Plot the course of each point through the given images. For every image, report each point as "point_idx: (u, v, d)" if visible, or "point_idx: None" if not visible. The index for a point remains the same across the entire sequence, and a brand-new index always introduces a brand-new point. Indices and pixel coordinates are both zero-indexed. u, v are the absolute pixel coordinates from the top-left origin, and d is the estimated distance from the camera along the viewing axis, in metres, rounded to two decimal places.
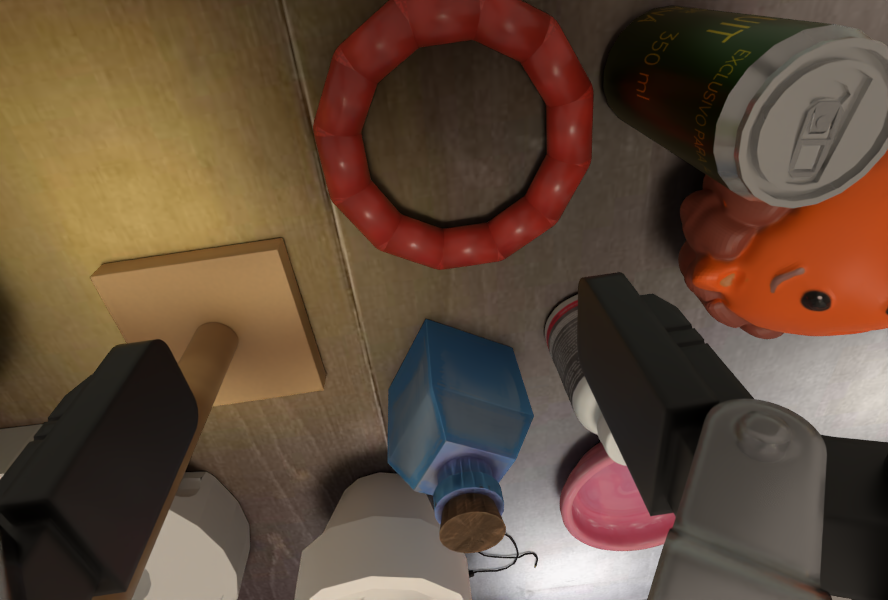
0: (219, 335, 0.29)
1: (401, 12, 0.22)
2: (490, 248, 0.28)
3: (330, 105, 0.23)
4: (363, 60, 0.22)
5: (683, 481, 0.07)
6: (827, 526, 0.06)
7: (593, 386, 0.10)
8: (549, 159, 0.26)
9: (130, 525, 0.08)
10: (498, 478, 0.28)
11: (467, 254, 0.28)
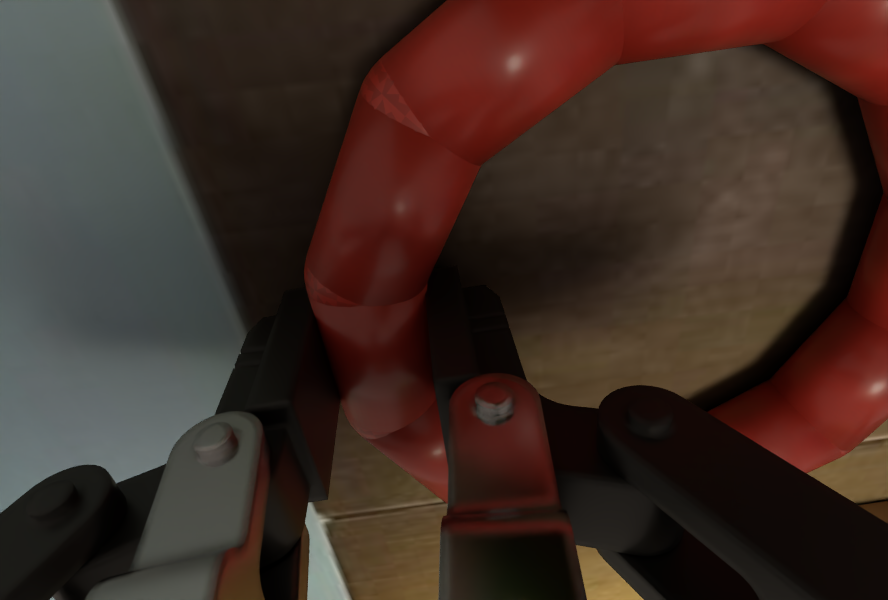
0: None
1: (375, 439, 0.11)
2: None
3: None
4: None
5: None
6: None
7: None
8: (783, 40, 0.08)
9: (324, 443, 0.09)
10: None
11: None
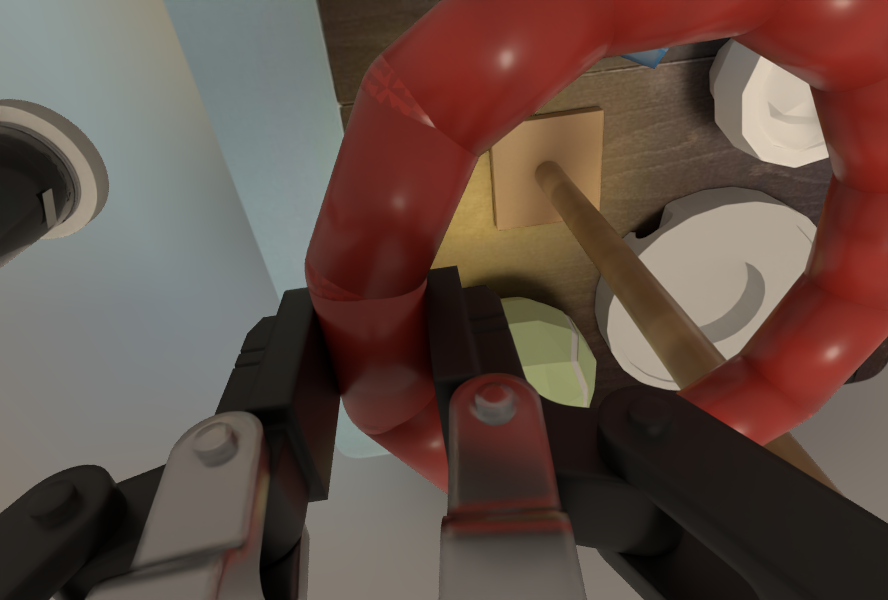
0: (540, 170, 0.47)
1: (380, 433, 0.11)
2: None
3: None
4: None
5: None
6: None
7: None
8: (749, 32, 0.09)
9: (324, 443, 0.09)
10: None
11: None
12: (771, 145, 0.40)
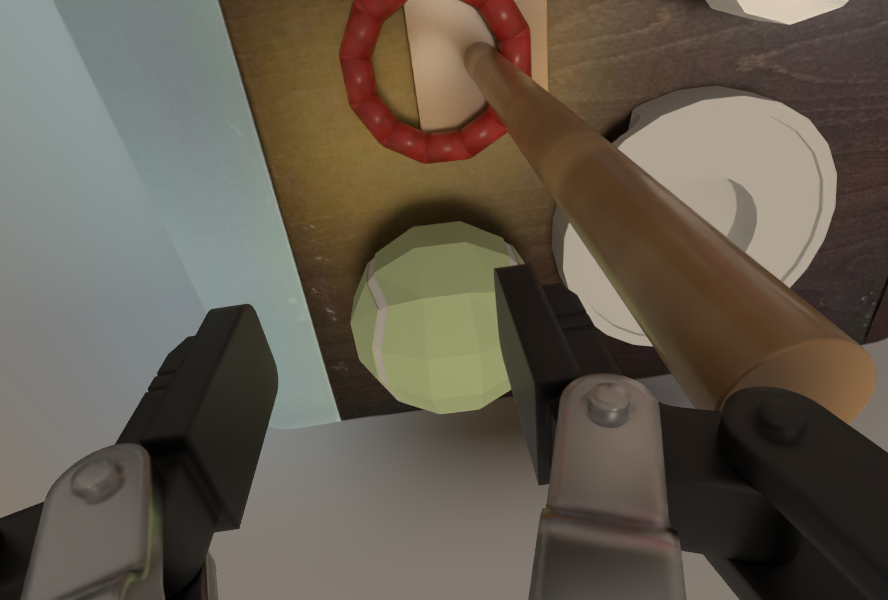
0: (468, 52, 0.37)
1: (356, 107, 0.38)
2: (513, 43, 0.35)
3: (408, 153, 0.40)
4: (382, 131, 0.39)
5: None
6: None
7: (507, 370, 0.11)
8: None
9: (239, 469, 0.09)
10: None
11: (516, 63, 0.36)
12: None
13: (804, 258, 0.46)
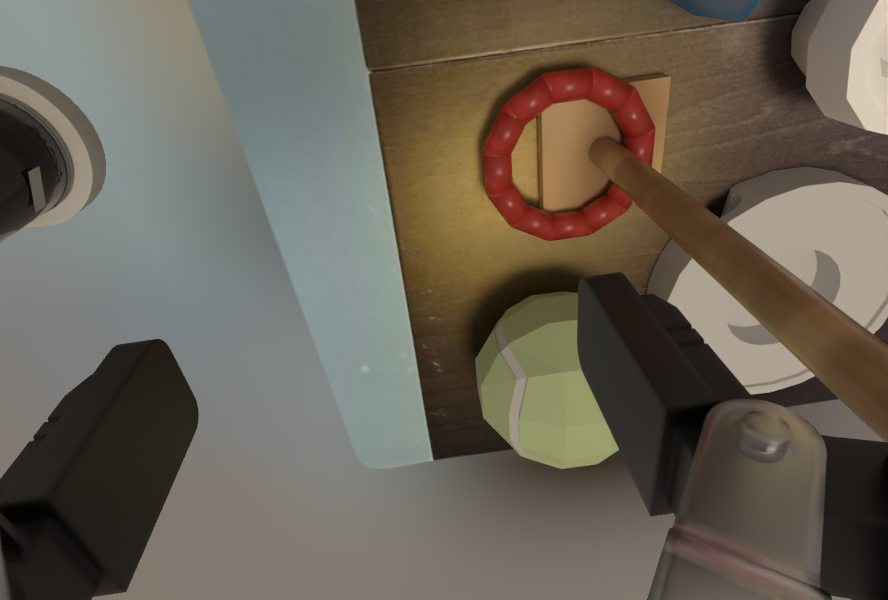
0: (597, 146, 0.41)
1: (496, 196, 0.41)
2: (642, 140, 0.40)
3: (537, 233, 0.43)
4: (517, 216, 0.42)
5: (683, 481, 0.07)
6: (827, 526, 0.06)
7: (593, 386, 0.10)
8: (587, 98, 0.39)
9: (130, 525, 0.08)
10: None
11: (643, 156, 0.40)
12: (878, 111, 0.34)
13: (880, 317, 0.51)
